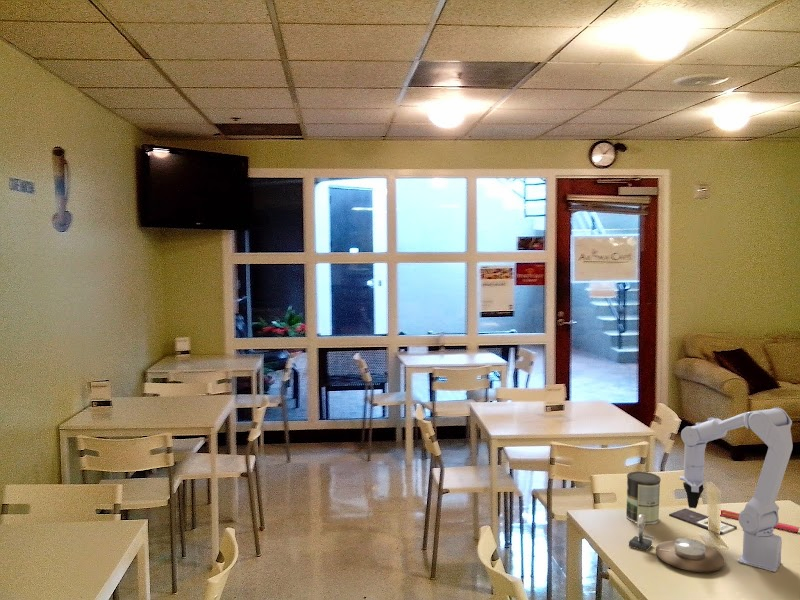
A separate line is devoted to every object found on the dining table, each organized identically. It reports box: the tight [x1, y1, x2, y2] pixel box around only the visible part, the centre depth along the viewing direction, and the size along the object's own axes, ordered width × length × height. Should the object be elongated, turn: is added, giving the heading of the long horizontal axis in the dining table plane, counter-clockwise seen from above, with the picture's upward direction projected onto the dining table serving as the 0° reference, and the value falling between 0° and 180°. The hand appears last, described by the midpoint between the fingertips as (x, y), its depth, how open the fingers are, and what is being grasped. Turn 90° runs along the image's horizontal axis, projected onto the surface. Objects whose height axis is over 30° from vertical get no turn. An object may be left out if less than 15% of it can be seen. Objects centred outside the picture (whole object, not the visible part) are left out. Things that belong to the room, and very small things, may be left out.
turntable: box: [655, 539, 726, 573], centre depth 192 cm, size 18×18×1 cm
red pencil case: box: [720, 509, 800, 534], centre depth 219 cm, size 24×2×5 cm
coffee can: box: [625, 471, 662, 525], centre depth 221 cm, size 10×10×14 cm
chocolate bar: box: [669, 507, 737, 536], centre depth 219 cm, size 9×1×18 cm
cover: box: [674, 537, 706, 561], centre depth 192 cm, size 8×8×3 cm
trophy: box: [628, 514, 655, 552], centre depth 200 cm, size 6×5×10 cm
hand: (692, 507), depth 209 cm, fingers closed
